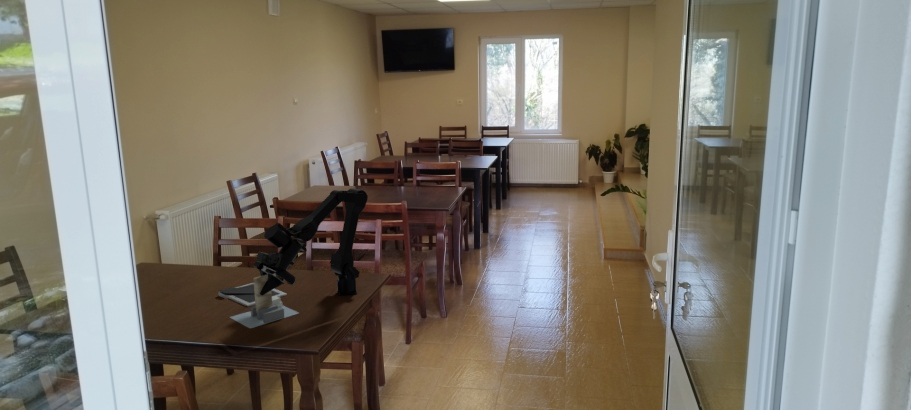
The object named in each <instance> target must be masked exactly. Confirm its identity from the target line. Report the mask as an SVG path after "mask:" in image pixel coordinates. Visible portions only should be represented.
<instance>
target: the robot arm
mask: <svg viewBox="0 0 911 410" xmlns="http://www.w3.org/2000/svg"><path fill="white" fill-rule="evenodd" d="M368 197H369V196H368V194H367V192H366V191H365V190H363V189H357V188H352V187H351V188H349V189H348V190H338V189H337V190H336V189H334V190H332V191H330V193H329V195H327V196H326V198H325V199H323V201H322V202H320V204H319V205H318V206H317V207H316V208H315V209H314V210H313V211H312V212H311V213H310V214H309V215H308V216H306V217H303V218H301V219H300V220H298V221H297V222H295V223H294V224H293V225H292V226H291V227H288V228H285V227H284V225H283V224H281V222H276V223H275V224H274V225H272V226H270V227H269V228H267V229H266V231H265V232H264V239H265V240H267V241H268V242H269V243H271V244H272V245H273V246H274V247H275V248H277V249H278V248H280V249H279V250H278V252H277V251H274V252H271V251H270V252H269V253H267V252H264V251H258V252H257V256H256V259H255V261H254V264H252V266H253V267H254V268H256V269H257V270H258V272H260V273H259V274H260V276H263V275H268V280H267V282H266V283H265V285H264V287H263V288H262V290H261V292H260V295H264V294H266V293H268V292H269V291H271V290H273V289H276V288H277V287H280V286H281V285H284V284H285V283H284V282H286V284H287V285H290V286H292V287H293V286H294V284H295V283H296V281H297V280H296V276H294V275H293V274H292V273H291V272H289V271H288V269H289V267H290V266H294V264H295V262H293V261H294V260H295V259H296V257H297V256H298V255H299V253H300V251H302V252H307V247H306V243H304V242H310V241H312V239H314V237H315V235H316V234H317V232H318V230H319V226H320V225H321V223H323V221H325V219H326V218H327V217H328V216H330V214H331V213H332V212H333V211H334V210H335V209H336V208H337V207H338V206H339V204H341V203H343V204H344V208H345V217H344V221H343V227H342V232H341V237H340V242H339V247H338V249H337V251H336V252H335V253H334V252H331V255H330V261H329V264H330V266H329V267H330V269H331V271H332V272H333V273H334V275H335V276H337V280H336V290H337V293H338V295H339V296H346V295H356V294H358V292H357V291H358V290H357V279H358V278H359V276H360V271H359V270H358V269H357V268H356V267H354V262H355V259H354V255H353V248H354V243H355V238H356V232H357V228H358V223H359V217H360V214H361V213H362V212H363V211H364V209H365V208H366V205H367V202H368ZM292 238H293V239H292ZM300 241H302V242H300Z"/></svg>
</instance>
